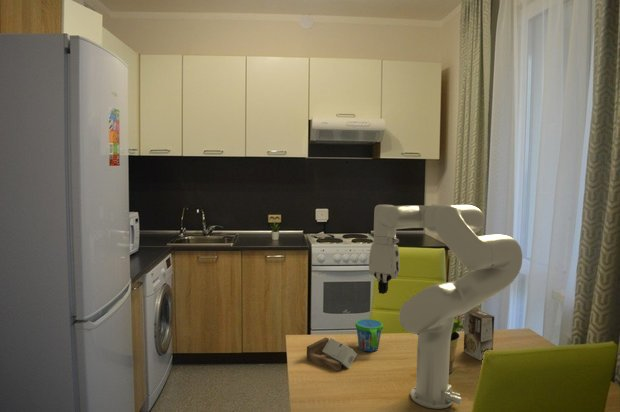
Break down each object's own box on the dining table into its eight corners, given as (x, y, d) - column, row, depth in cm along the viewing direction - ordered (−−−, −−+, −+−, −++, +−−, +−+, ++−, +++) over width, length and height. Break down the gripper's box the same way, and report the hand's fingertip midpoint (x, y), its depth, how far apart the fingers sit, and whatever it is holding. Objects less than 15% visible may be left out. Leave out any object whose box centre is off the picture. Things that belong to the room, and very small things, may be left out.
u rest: (356, 360, 157) (356, 347, 157) (338, 371, 148) (338, 357, 148) (325, 349, 166) (325, 337, 165) (306, 359, 157) (306, 346, 156)
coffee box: (493, 358, 161) (495, 316, 159) (479, 361, 158) (481, 318, 157) (475, 349, 169) (477, 309, 168) (462, 351, 167) (464, 310, 165)
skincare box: (342, 362, 148) (320, 351, 158) (349, 369, 150) (326, 357, 160) (352, 347, 151) (329, 337, 160) (358, 354, 153) (335, 343, 162)
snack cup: (352, 340, 176) (353, 316, 175) (378, 340, 176) (378, 316, 175) (357, 356, 160) (358, 330, 159) (385, 357, 160) (386, 330, 160)
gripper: (409, 241, 146) (407, 294, 147) (371, 237, 155) (369, 286, 157) (399, 244, 140) (397, 299, 141) (360, 239, 149) (358, 291, 151)
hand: (382, 292), depth 149 cm, fingers closed
